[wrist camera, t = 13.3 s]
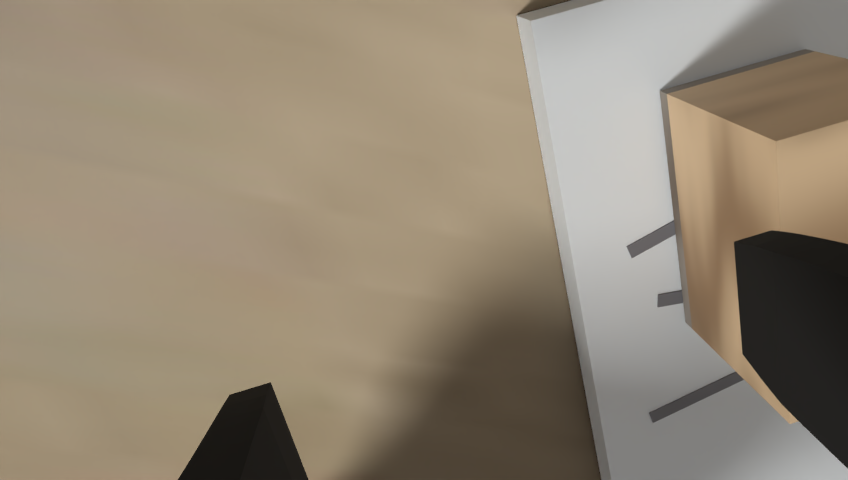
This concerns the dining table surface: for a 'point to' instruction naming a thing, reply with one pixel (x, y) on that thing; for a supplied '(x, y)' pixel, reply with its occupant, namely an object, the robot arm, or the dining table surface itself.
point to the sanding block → (753, 178)
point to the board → (655, 228)
